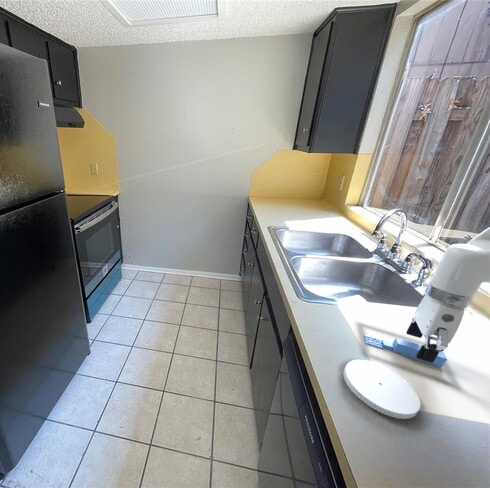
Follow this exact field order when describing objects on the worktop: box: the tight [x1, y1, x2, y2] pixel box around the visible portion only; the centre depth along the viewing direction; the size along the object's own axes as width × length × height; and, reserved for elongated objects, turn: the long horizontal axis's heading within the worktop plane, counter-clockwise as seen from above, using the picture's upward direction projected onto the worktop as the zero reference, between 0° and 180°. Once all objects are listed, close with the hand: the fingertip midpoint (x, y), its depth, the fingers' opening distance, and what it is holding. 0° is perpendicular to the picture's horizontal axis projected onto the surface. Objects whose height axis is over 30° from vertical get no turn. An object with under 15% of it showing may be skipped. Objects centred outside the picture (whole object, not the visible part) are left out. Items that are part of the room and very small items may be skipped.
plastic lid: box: [342, 359, 422, 420], centre depth 60 cm, size 14×14×2 cm
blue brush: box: [363, 334, 448, 368], centre depth 71 cm, size 16×4×4 cm, turn 61°
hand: (418, 346), depth 69 cm, fingers open, 9 cm apart
